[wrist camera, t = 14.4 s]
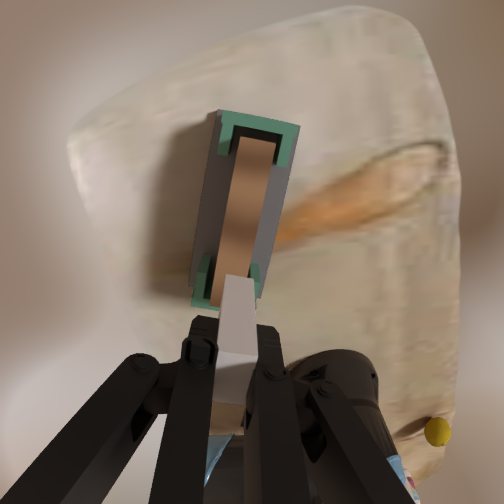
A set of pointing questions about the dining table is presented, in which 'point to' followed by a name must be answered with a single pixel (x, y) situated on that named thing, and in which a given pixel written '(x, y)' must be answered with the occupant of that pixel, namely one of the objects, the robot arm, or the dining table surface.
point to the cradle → (217, 195)
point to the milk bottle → (411, 487)
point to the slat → (242, 211)
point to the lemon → (437, 431)
